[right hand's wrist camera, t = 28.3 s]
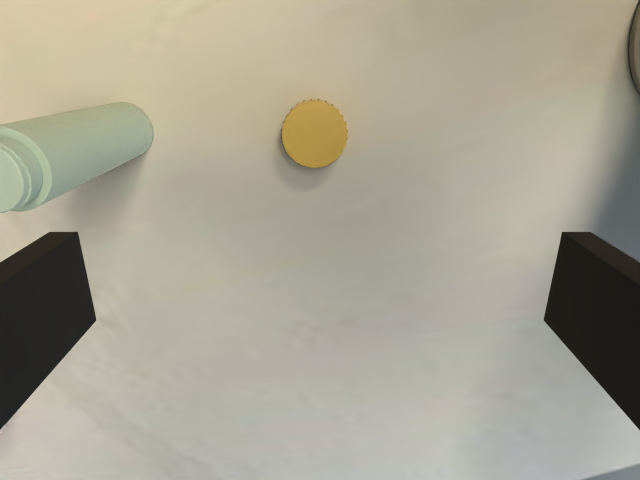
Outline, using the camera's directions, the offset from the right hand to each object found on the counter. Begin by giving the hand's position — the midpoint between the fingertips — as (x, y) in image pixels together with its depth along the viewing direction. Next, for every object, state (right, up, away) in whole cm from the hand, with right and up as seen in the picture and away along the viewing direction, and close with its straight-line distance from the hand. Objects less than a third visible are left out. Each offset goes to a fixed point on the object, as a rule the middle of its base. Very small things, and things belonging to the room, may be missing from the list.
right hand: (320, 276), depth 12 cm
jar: (-17, +10, +26) cm, 33 cm away
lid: (0, +10, +25) cm, 26 cm away
